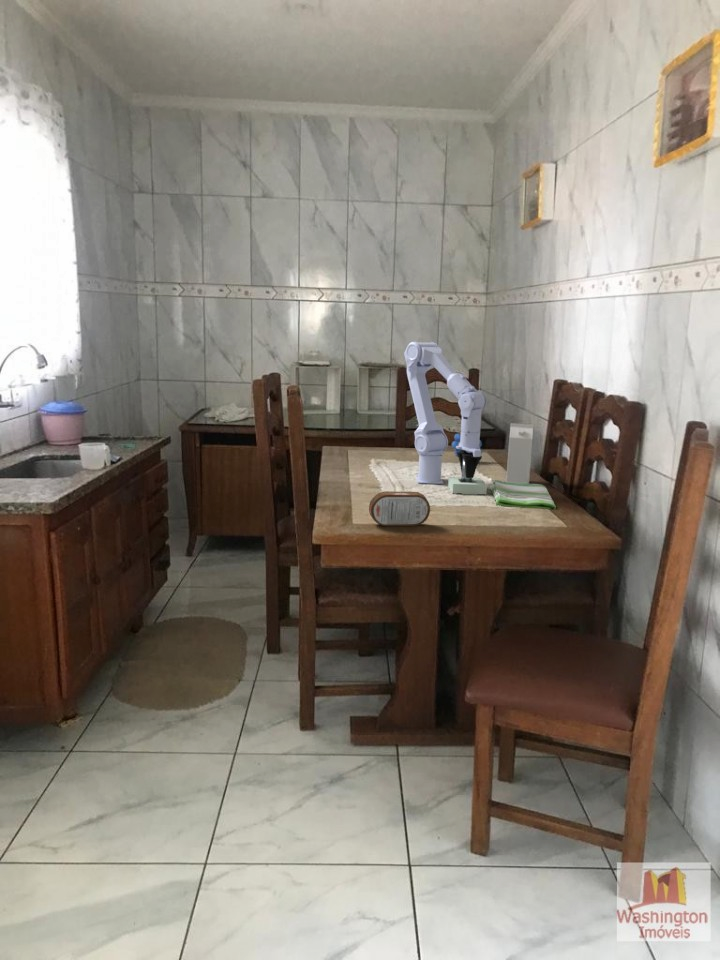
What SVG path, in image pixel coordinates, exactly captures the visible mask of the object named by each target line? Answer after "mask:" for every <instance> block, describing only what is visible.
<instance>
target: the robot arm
mask: <svg viewBox="0 0 720 960" xmlns="http://www.w3.org/2000/svg"><path fill="white" fill-rule="evenodd" d="M403 355H404V358H405V363H406V375H407V380H408V384H409V389H410V394H411V397H412V400H413V404H414V405H413V406H414V410H415V415H416V417H417V419H416V420H417V422H418V427H417V428H416V430H414V432H413V433H414V447H415V448H414V449H415V450H416V451H417V455H419V457H418V473H417V475H415V476H414V477H415V480H416V482H417V483H418V484H430V485H431V484H435V485H437V484H439V485H441V484H442V485H443V484H444V481H443V480H442V466H443V465H442V462H443V455H444V454H445V451H446V450H447V448H448V445H449V440H448V439H449V438H448V436H447V435H446V433H445V432H444V427H443V426H442V425H440V423H438V422H437V421H436V417H435V411H434V408H433V404H432V399H431V395H430V391H429V388H428V386H429V385H428V383H427V378H426V373H427V372H428V371H429V370H430V368H432V366H433V368H434V369H435V370H437V371H438V373H439V374H440V375H441V376H442V377H443V378H444V379H445V380H446V386H447V388H448V389H449V391H451V393H452V394H453V395H454V396H455V398H457V400H458V401H457V403H458V407H459V409H460V415H461V422H460V424H461V425H460V435H461V437H460V443H459V445H458V446H456V448H457V449H462V451H461V452H456V453H457V456H458V457H457V458H458V461H459V465H460V473H461V474H462V461H463V459H464V463H465V474H466V478H475V477H474V476H475V473H476V470H477V467H478V465H479V463H480V461H481V460H482V454H481V450H482V449H481V447H479V441H481V440H480V437H481V426H482V412H483V411H482V410H483V409H484V408H485V407H486V405H487V397H486V394H485V393H484V391H482V390H478V389H476V387H475V386H474V385H472V384H471V383H470V381H469V380H468V379H467V376H466V375H465V373H464V374H463V373H460V372H458V373H457V372H456V371H455V369H454V368H453V367H452V365H451V364H450V363H449V361H448V360H447V359H446V357H445V356H444V354H443V349H442V348H441V347H440V346H439V345H438V344H437V343H436V342H433V341H432V342H418V341H411V342H409V344H407V346H406V349H405V350H404V352H403ZM480 449H481V450H480Z"/></svg>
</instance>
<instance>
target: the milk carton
mask: <svg viewBox="0 0 720 960" xmlns="http://www.w3.org/2000/svg"><path fill="white" fill-rule="evenodd" d="M533 436H534V424H532V423H531V424H527V423H513V422H511V423H510V427H509V436H508V437H509V439H508V449H507V450H508V452H507V453H508V454H507V462H506V463H507V466H506V479H505V482H515V483H528V484H530V477H531V476H530V473H531V461H532V450H533V439H534V438H533Z"/></svg>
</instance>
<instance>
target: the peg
mask: <svg viewBox="0 0 720 960" xmlns="http://www.w3.org/2000/svg"><path fill="white" fill-rule="evenodd" d="M461 482H463V483H472V478H466V474H465V463H464V459H463V461H462V473H461Z"/></svg>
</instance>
